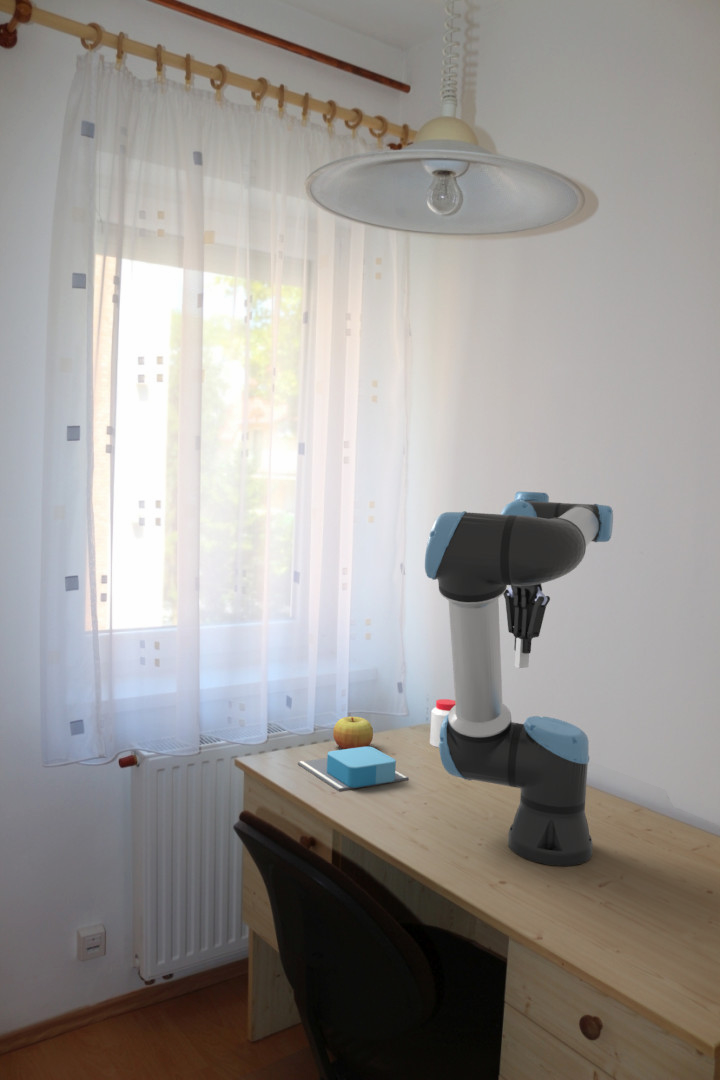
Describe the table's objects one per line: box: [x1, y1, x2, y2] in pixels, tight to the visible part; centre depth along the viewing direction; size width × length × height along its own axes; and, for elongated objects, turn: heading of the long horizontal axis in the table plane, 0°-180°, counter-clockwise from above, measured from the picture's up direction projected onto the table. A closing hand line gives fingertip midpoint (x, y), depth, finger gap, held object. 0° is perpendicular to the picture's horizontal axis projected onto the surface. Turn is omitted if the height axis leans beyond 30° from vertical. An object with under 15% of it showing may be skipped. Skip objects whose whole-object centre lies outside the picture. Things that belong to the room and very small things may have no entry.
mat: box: [297, 757, 409, 792], centre depth 196 cm, size 19×18×1 cm
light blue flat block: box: [326, 746, 397, 788], centre depth 192 cm, size 12×4×12 cm
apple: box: [332, 716, 374, 750], centre depth 213 cm, size 10×10×8 cm
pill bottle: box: [429, 698, 456, 749], centre depth 220 cm, size 8×8×11 cm
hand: (521, 666), depth 192 cm, fingers closed
